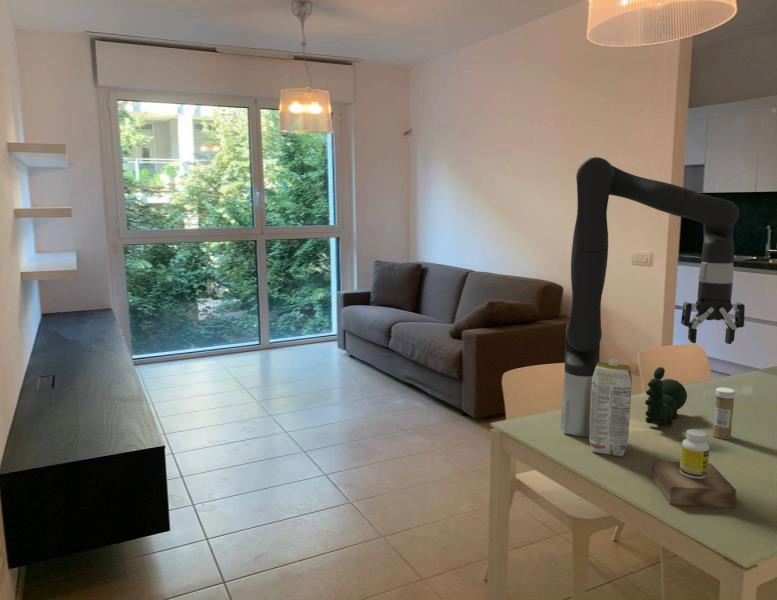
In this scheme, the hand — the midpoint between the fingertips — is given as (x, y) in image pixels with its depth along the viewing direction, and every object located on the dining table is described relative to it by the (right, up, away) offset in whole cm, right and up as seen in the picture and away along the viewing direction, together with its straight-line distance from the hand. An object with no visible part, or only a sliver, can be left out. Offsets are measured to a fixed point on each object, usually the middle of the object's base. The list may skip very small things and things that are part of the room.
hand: (710, 342), depth 151 cm
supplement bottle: (-15, -28, -20) cm, 37 cm away
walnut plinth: (-15, -32, -19) cm, 40 cm away
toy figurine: (-1, -25, +24) cm, 35 cm away
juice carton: (-25, -28, +3) cm, 38 cm away
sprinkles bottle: (+9, -27, +11) cm, 30 cm away
